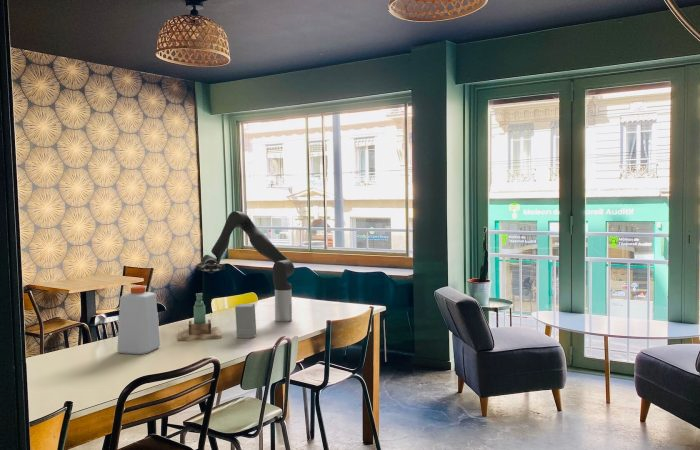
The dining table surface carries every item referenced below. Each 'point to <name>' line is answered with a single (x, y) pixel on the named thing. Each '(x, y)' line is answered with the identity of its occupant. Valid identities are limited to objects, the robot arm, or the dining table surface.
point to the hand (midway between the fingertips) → (211, 268)
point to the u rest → (199, 332)
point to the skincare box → (245, 320)
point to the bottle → (199, 310)
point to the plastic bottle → (138, 322)
